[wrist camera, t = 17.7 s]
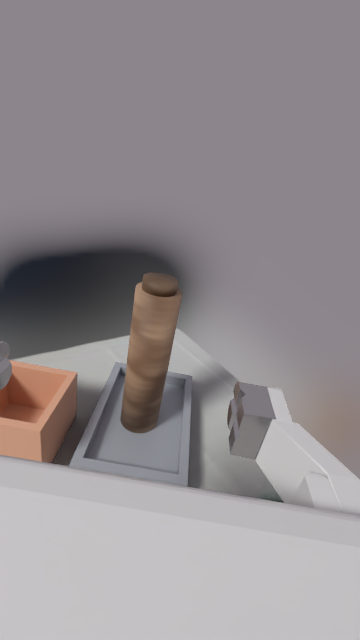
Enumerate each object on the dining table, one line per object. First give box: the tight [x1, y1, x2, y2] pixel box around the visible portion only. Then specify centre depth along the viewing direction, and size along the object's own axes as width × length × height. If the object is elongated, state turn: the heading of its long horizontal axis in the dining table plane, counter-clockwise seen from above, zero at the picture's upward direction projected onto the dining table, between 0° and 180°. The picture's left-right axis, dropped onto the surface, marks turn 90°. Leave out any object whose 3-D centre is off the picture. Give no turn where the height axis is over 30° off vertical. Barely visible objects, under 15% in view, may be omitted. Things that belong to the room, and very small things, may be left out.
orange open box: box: [0, 360, 77, 463], centre depth 32 cm, size 9×9×7 cm
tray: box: [69, 362, 192, 486], centre depth 38 cm, size 12×18×2 cm, turn 176°
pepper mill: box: [120, 273, 182, 433], centre depth 34 cm, size 5×5×19 cm
